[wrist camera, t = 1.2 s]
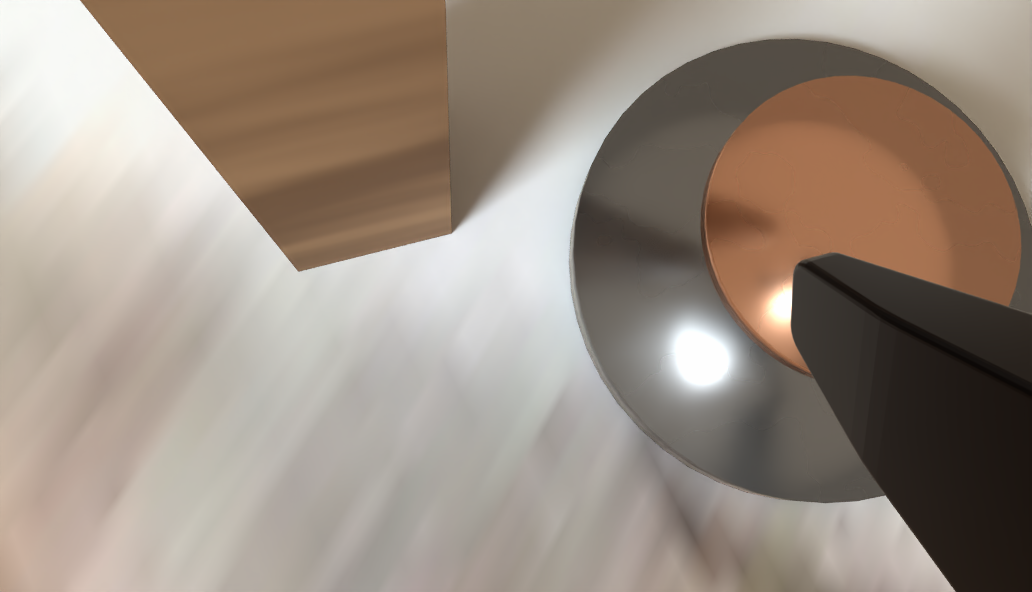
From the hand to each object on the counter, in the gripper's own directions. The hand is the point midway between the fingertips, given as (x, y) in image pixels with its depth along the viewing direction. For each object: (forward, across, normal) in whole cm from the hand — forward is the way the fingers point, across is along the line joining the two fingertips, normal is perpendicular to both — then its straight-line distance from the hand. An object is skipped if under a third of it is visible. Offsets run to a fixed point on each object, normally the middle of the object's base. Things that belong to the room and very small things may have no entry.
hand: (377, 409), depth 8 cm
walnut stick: (+14, 0, +4) cm, 15 cm away
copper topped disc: (+10, -10, +8) cm, 17 cm away
